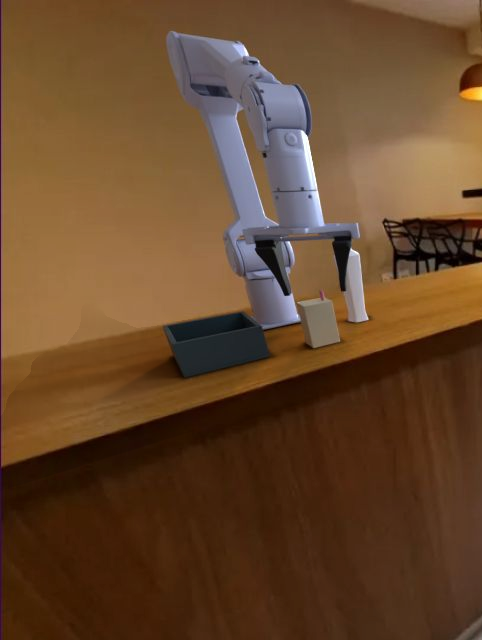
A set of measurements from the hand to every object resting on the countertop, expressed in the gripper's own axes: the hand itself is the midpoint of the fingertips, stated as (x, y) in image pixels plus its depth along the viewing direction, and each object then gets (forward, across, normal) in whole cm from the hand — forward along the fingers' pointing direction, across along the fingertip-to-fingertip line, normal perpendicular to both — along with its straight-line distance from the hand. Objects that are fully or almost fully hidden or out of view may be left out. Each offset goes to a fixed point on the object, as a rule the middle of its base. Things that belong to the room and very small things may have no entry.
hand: (316, 292), depth 64 cm
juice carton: (+10, -2, +6) cm, 12 cm away
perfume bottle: (+10, +4, +18) cm, 21 cm away
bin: (+10, -16, +4) cm, 20 cm away
